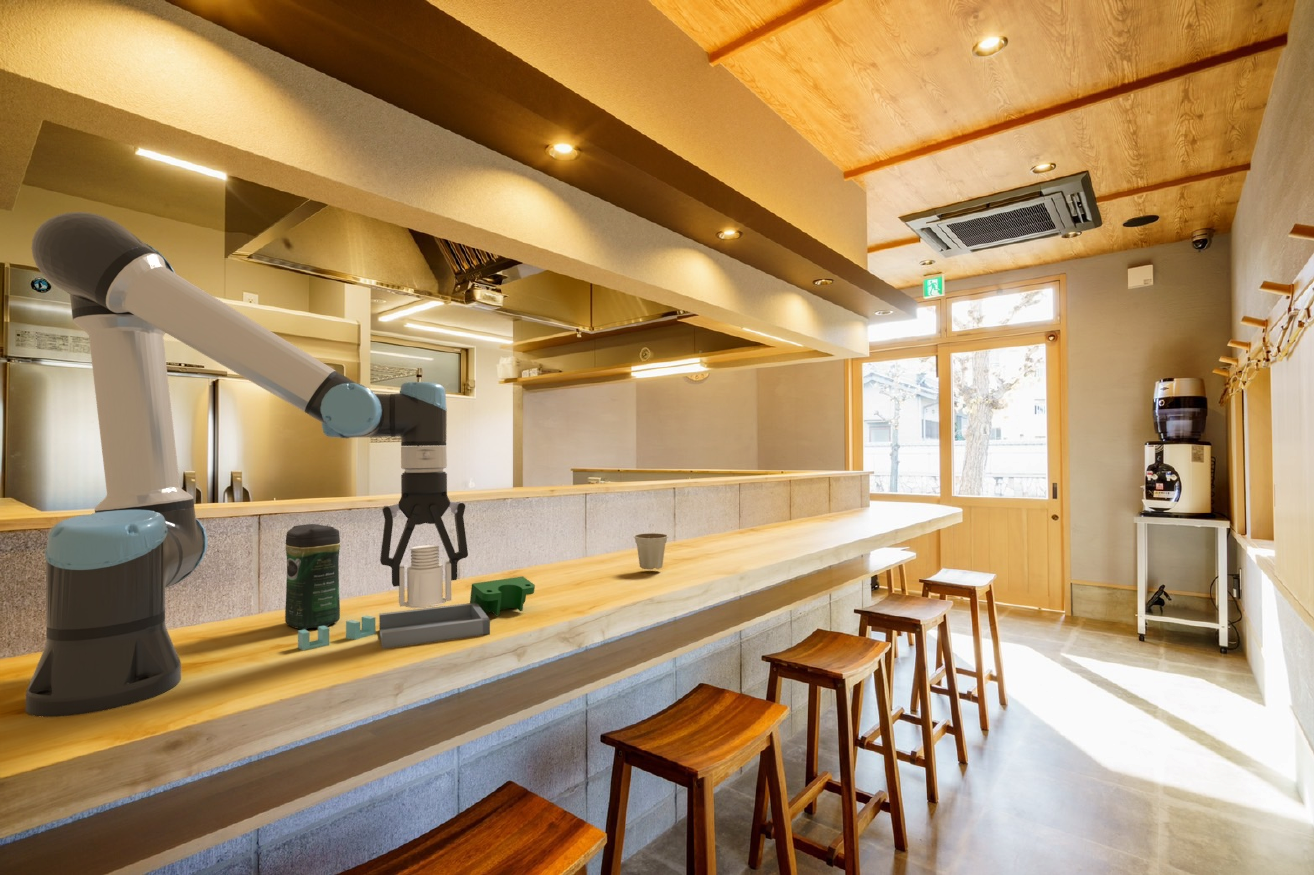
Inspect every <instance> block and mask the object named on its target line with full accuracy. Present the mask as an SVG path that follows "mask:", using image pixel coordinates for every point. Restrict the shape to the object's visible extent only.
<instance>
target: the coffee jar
mask: <svg viewBox="0 0 1314 875" xmlns="http://www.w3.org/2000/svg"><path fill="white" fill-rule="evenodd" d="M340 535H341V534H340V530H339V529H338V528H335V527H334V526H330V525H323V524H317V523H316V524H315V523H308V524H307V523H306V524H298V525H293V527H292V528H290V529H289V530H288V531H287V532H286V537H285V553H286V583H285V584H286V586H285V587H286V591H285V608H284V610H285V612H284V617H285V618H284V621H285V623H286V624H287V625H288V626H290V627H292V628H296V629H299V630H304V629H305V630H307V629H313V628H316V629H318V627H319V626H326V627H328V626H330V625H332V624H335V623H337V622H338V621H340V618H341V615H340V614H341V607H340V606H341V605H340V602H341V601H340V575H339V574H340V571H339V570H340V566H339V563H340V560H339V559H340V558H339V556H340V548H341V543H340V542H341V538H340Z"/></svg>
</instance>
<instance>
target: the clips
mask: <svg viewBox="0 0 1314 875" xmlns="http://www.w3.org/2000/svg"><path fill="white" fill-rule="evenodd" d="M376 630H377V629H376V617H375V616H370V615H363V616H361V621H358V620H355V619H351V620H350V619H349V620H346V621H345V638H346V639H347V640H348V639H349V640H352V641H353V640H354V641H356V640H359V639H363V638H366V637H367V638H368V637H370V636H373V635H374V636H375V635H376V633H377V631H376ZM310 639H311V638H310V631H308V630H307V629H299V630H297V649H299V650H301V651H307V650H312V649H317V647H318V648H321V647H326V646H330V627H328V626H319V627H318V628H317V639H316V640H312V641H310Z"/></svg>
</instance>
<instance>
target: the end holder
mask: <svg viewBox="0 0 1314 875" xmlns="http://www.w3.org/2000/svg"><path fill="white" fill-rule="evenodd" d="M378 616H379V623H378V625H379V630H378V632H379V636H380V643H381V649H382V650H386V649H387V650H388V649H393V647H394V648H399V647H407V646H415V645H416V646H417V645H422V644H423V645H424V644H429V643H437V642H445V641H450V640H460V639H465V638H466V639H467V638H472V637H473V638H475V637H481V636H488V635H489V636H490V635H491V618H490V617H489V616H488V615H487V613H485V612H484V611H483V610H482V609H481V607H480V606H479V605H478V604H477V602H476V603H470V602H469V603H461V604H459V603H458V604H451V605H450V604H449V605H442V606H441V605H440V606H433V607H426V608H414V609H408V610H399V611H391V612H382V613H381V612H380V613H379V615H378Z"/></svg>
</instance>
